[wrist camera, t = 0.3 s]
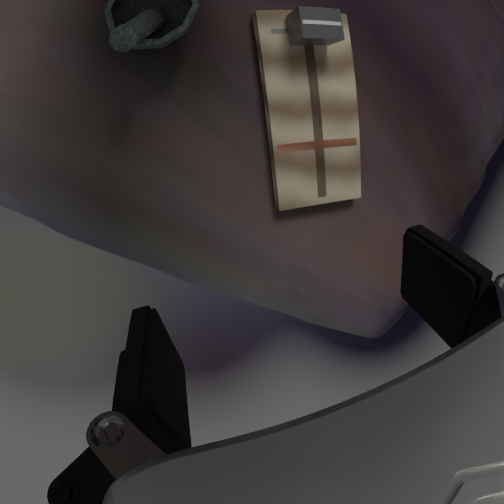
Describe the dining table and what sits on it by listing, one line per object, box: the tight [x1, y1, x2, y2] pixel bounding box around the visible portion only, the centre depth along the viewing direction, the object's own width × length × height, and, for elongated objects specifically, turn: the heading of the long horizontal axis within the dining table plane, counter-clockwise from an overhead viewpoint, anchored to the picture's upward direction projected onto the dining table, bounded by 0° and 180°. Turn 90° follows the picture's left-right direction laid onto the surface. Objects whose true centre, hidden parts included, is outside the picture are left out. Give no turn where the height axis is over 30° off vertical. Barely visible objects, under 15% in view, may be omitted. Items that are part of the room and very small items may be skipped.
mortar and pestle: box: [104, 0, 200, 52], centre depth 23 cm, size 11×9×12 cm
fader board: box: [252, 10, 361, 211], centre depth 36 cm, size 26×12×2 cm, turn 7°
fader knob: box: [286, 6, 345, 46], centre depth 28 cm, size 4×5×4 cm
